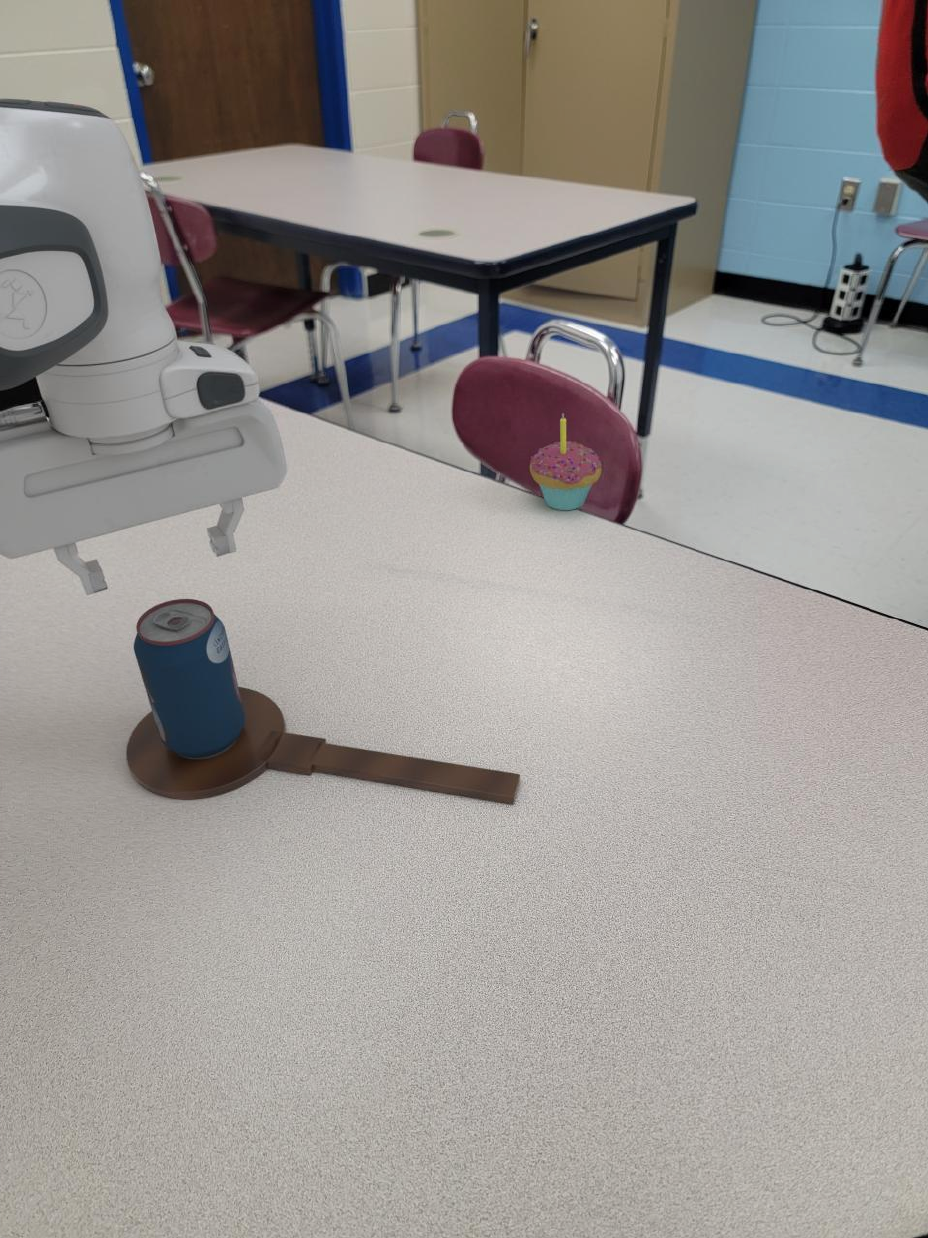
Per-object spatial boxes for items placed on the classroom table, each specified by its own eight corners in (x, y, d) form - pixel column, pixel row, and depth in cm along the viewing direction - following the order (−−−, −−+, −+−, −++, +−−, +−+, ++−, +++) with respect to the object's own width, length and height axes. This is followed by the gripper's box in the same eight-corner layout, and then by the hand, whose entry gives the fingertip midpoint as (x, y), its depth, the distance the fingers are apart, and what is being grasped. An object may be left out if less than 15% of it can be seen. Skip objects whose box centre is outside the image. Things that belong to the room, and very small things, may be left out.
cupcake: (590, 522, 105) (596, 425, 98) (520, 512, 107) (520, 417, 100) (605, 489, 111) (612, 396, 104) (538, 480, 113) (540, 388, 106)
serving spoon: (96, 785, 72) (94, 778, 72) (176, 683, 83) (174, 676, 82) (499, 857, 65) (499, 850, 65) (532, 736, 75) (532, 729, 75)
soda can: (264, 723, 77) (240, 607, 70) (209, 776, 72) (177, 657, 65) (201, 699, 79) (172, 585, 72) (145, 749, 74) (107, 631, 67)
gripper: (-57, 441, 51) (18, 636, 59) (280, 369, 60) (306, 549, 68) (-68, 406, 56) (3, 592, 64) (247, 344, 64) (275, 515, 72)
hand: (161, 569), depth 66 cm, fingers open, 8 cm apart
